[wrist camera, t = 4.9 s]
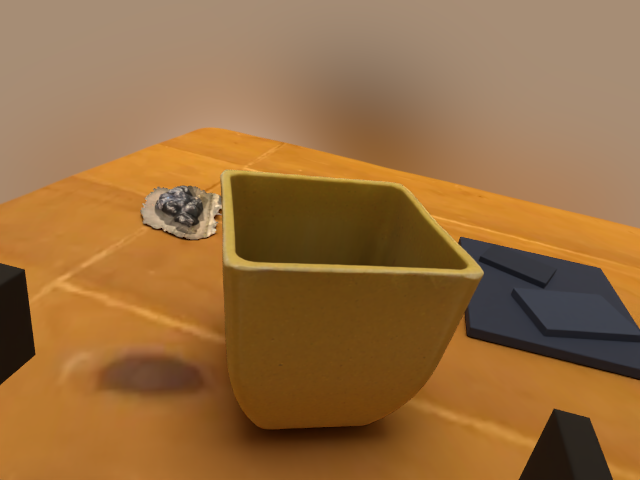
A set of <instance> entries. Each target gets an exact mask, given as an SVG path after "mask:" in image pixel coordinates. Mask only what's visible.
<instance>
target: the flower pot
mask: <svg viewBox="0 0 640 480" xmlns="http://www.w3.org/2000/svg"><path fill="white" fill-rule="evenodd" d="M221 201H222V228H223V287H224V307H225V335H226V354H227V367H228V374H229V378H230V383H231V386H232V390H233V392H234V395H235V398H236V400H237V402H238V404H239V406H240V407H241V409H242V410H243V412H244V413H245V414H246V416H247V417H248V418H249V419H250V420H251V421H252V422H253V423H254V424H255V425H256V426H258V427H260V428H263V429H270V430H271V429H289V428H311V427H338V426H364V425H368V424H370V423H373V422H375V421H377V420H379V419H381V418H383V417H385V416H387V415H389V414H390V413H392V412H394V411H395V410H397V409H398V408H400V407H401V406H402V405H404V404H405V403H406V402H408V401H409V400H410V399H411V398H412V397H413V396H415V395H416V393H417V392H418V391H419V390H420V389H421V388H422V387H423V386H424V385H425V383H426V382H427V381H428V379H429V378H430V377H431V375H432V374H433V372H434V370H435V369H436V367H437V365H438V363H439V361H440V360H441V358H442V356H443V354H444V352H445V350H446V348H447V346H448V344H449V342H450V340H451V338H452V336H453V334H454V332H455V330H456V328H457V326H458V324H459V322H460V320H461V318H462V316H463V314H464V312H465V310H466V308H467V306H468V304H469V302H470V300H471V298H472V296H473V294H474V292H475V290H476V288H477V286H478V284H479V282H480V280H481V279H482V277H483V275H484V272H483V270H482V269H481V267H480V266H479V265H478V264H477V263H476V262H475V260H474V259H473V258H472V257H471V256H470V255H469V254H468V253H467V252H466V251H465V250H464V249H463V248H462V247H461V246H460V245H459V244H458V243H457V242H456V241H455V240H454V239H453V238H452V237H451V236H450V235H449V234H448V233H447V232H446V231H445V230H444V229H443V228H442V227H441V226H440V225H439V224H438V223H437V222H436V221H435V219H434V218H433V217H432V216H431V215H430V214H429V213H428V212H427V210H426V209H425V208H424V207H423V205H422V204H421V203H420V202H419V201H418V200H417V198H416V197H415V196H414V195H413V194H412V193H411V192H410V191H409V190H408V189H407V188H405V187H404V186H403V185H402V184H399V183H392V182H382V181H368V180H356V179H342V178H329V177H316V176H304V175H292V174H279V173H267V172H254V171H242V170H225V171H224V172H223V173H222V174H221Z"/></svg>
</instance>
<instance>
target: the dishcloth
mask: <svg viewBox="0 0 640 480" xmlns="http://www.w3.org/2000/svg"><path fill="white" fill-rule="evenodd" d="M458 244H459V245H460V246H461V247H462V248H463V249H464V250H465V251H466V252H467V253H468V254H469V255H470V256H471V257H472V258H473V259H474V260H475V262H476V263H477V264H478V265H479V266H480V267H481V269H482V270H483V272H484V275H483V277H482V279H481V280H480V282H479V284H478V286H477V288H476V290H475V292H474V294H473V296H472V298H471V300H470V302H469V304H468V306H467V308H466V310H465V318H466V328H467V336H470V337H474V338H478V339H482V340H486V341H490V342H494V343H498V344H502V345H506V346H510V347H514V348H518V349H522V350H526V351H530V352H534V353H538V354H542V355H546V356H550V357H554V358H558V359H562V360H566V361H570V362H574V363H578V364H582V365H586V366H590V367H594V368H598V369H602V370H606V371H610V372H614V373H618V374H622V375H626V376H630V377H634V378H638V379H640V329H639V328H638V326H637V325H636V323H635V321H634V320H633V318H632V317H631V315H630V314H629V312H628V311H627V309H626V307H625V306H624V304H623V303H622V301H621V300H620V298H619V296H618V295H617V293H616V292H615V290H614V289H613V287H612V286H611V284H610V282H609V281H608V279H607V278H606V276H605V275H604V273H603V272H602V270H601V269H600V268H597V267H593V266H588V265H584V264H579V263H575V262H570V261H566V260H562V259H557V258H553V257H548V256H544V255H540V254H535V253H531V252H526V251H522V250H517V249H513V248H509V247H504V246H500V245H496V244H491V243H486V242H482V241H478V240H473V239H469V238H464V237H460V239H459V242H458Z"/></svg>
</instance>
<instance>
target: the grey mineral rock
mask: <svg viewBox="0 0 640 480" xmlns="http://www.w3.org/2000/svg"><path fill="white" fill-rule="evenodd" d="M153 190H154V192H151V193H150V194H149V195H148V196H147V198H145V199H146V200H147V201H146V204H144V203H143V206H144V207H145V208H142V210H140V211H141V213H142V215H143V218H144V221H143V223H145V224H146V223H147V225H151V226H152V227H153V228H156V229H159V228H162V229H164V230H163V231H168V232H169V233H171V234H172V233H173V234H175V235H176V236H179V237H182V238H183V237H186V239H198V238H199V239H200V238H203V237H204V238H206V237H209V235H211V234H214V233H215V231H217V230H216V229H214V228H213V227H216V225H217V224H216V223H218V222H216V221H215V220H214V217H215V216H214V215H216V214H217V215H218V214H219V215H222V214H220V213H217V212H220V211H218V210H219V209H222V207H221V206H222V201H221V196H219V195H217V194H212V193H206V192H205V190H203V191H201V190H200V189H198V187H196V186H195V187H192V186H188V187H187V186H180V187H179V186H177V187H176V188H173V189H171V190H170V189H167V188H164V187H163V188H160V187H157V189H155V188H154V189H153ZM152 204H153V205H154V206H153V205H152Z"/></svg>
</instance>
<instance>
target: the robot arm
mask: <svg viewBox="0 0 640 480" xmlns="http://www.w3.org/2000/svg"><path fill="white" fill-rule="evenodd" d="M34 355H35V347H34V339H33V331H32V323H31V315H30V307H29V299H28V291H27V284H26V276H25V270H24V269H20V268H17V267H13V266H9V265H5V264H1V263H0V385H1V384H2V383H3V382H4V381H5V380H6V379H8V378H9V377H10V376H11V375H12V374H13V373H15V372H16V371H17V370H18V369H19V368H20V367H22V366H23V365H24V364H25V363H26V362H27V361H29V360H30V359H31V358H32V357H33V356H34ZM519 480H613V478H612V476H611V473H610V470H609V468H608V465H607V463H606V460H605V457H604V455H603V452H602V450H601V447H600V444H599V442H598V439H597V436H596V434H595V431H594V429H593V426H592V423H591V421H590V418H587V417H584V416H580V415H576V414H572V413H568V412H565V411H561V410H557V409H554V410H553V412H552V414H551V416H550V418H549V420H548V422H547V424H546V426H545V428H544V430H543V432H542V434H541V436H540V438H539V440H538V442H537V444H536V446H535V448H534V450H533V452H532V454H531V456H530V458H529V460H528V462H527V464H526V466H525V468H524V470H523V472H522V474H521V476H520V478H519Z"/></svg>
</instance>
